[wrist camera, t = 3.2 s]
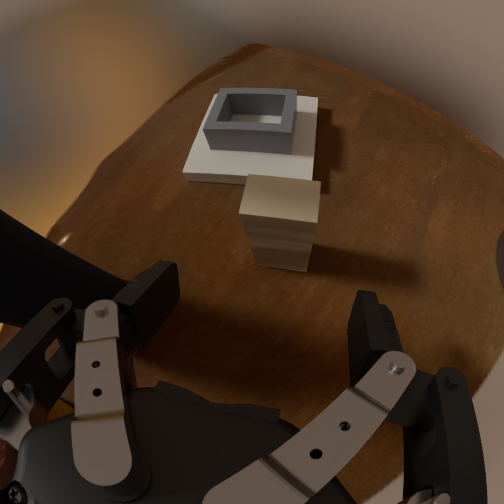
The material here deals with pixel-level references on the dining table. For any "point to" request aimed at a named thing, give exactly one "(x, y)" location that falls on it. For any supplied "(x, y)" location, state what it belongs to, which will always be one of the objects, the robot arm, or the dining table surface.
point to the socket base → (254, 136)
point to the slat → (280, 220)
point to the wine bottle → (44, 275)
